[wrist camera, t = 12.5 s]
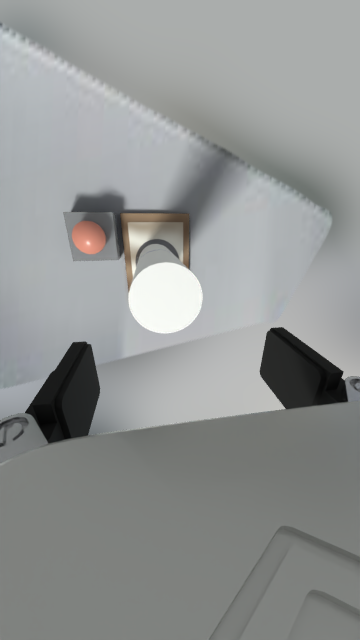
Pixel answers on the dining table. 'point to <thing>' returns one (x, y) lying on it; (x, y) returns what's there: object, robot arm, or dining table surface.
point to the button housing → (109, 227)
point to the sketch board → (154, 236)
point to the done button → (88, 237)
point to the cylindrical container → (163, 291)
